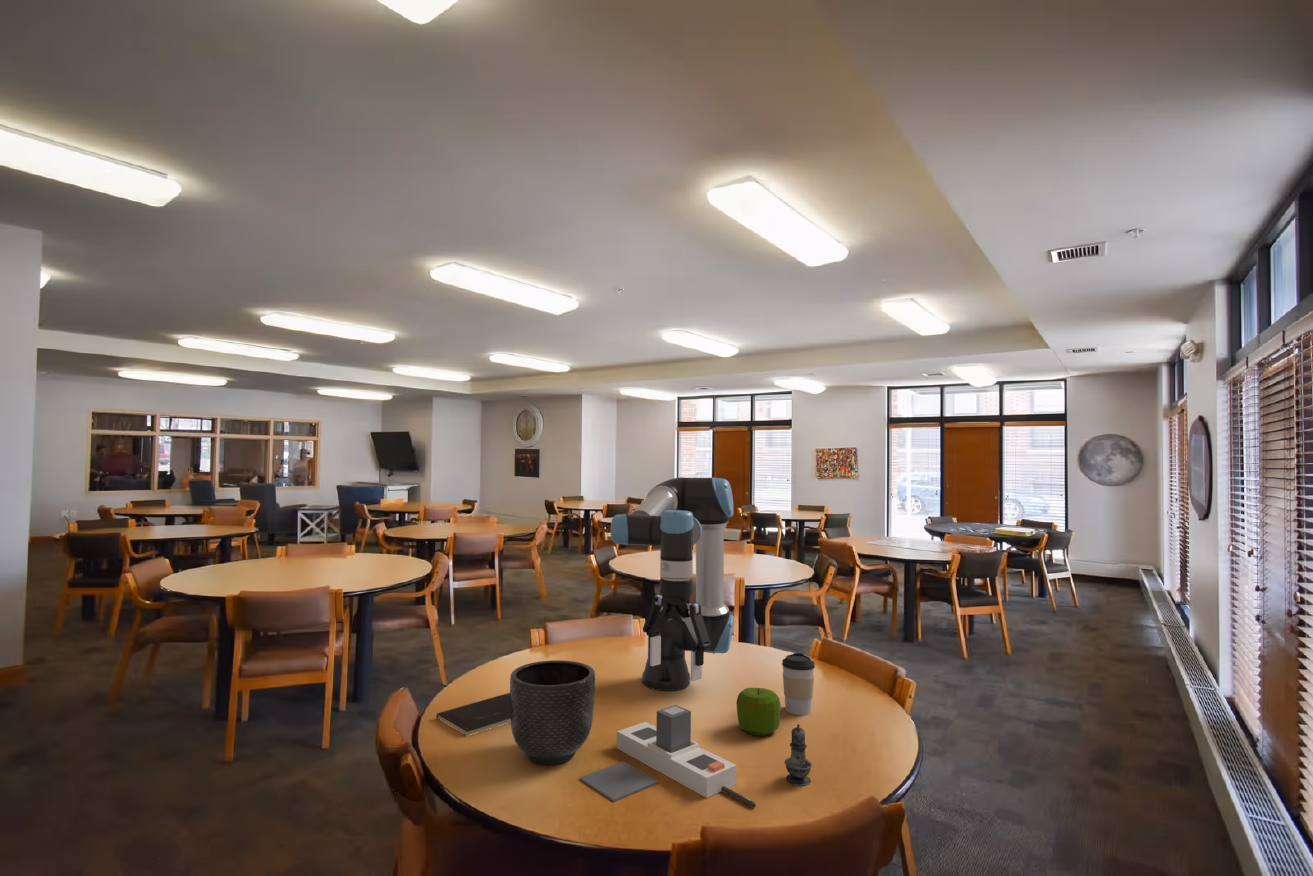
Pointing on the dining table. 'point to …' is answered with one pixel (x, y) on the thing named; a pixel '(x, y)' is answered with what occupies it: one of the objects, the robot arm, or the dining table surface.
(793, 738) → the grey chess piece
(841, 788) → the dining table surface
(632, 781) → the mat
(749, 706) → the apple
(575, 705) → the planter
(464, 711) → the hardcover book
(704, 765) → the strip
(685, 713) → the charger
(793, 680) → the coffee cup
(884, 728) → the dining table surface
